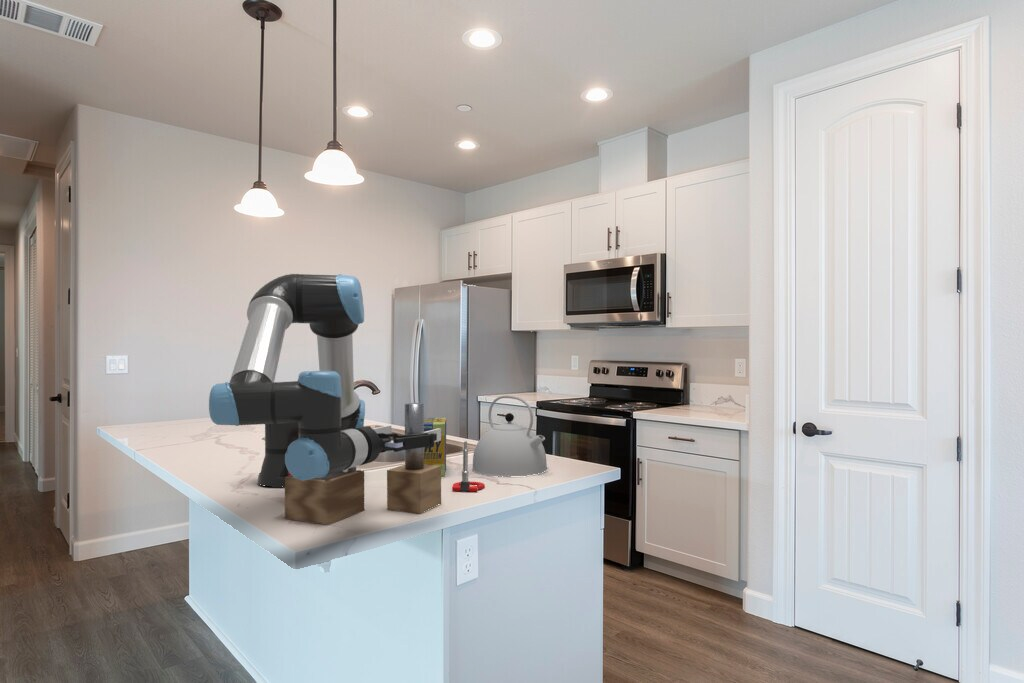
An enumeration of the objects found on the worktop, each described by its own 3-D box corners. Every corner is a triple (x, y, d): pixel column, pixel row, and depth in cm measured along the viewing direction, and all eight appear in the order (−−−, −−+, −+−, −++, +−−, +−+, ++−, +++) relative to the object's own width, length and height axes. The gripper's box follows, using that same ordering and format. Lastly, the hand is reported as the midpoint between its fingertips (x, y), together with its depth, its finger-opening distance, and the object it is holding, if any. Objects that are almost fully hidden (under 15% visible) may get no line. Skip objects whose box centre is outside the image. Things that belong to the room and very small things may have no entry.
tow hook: (457, 485, 160) (448, 491, 151) (457, 437, 161) (449, 441, 152) (487, 486, 159) (480, 493, 150) (487, 438, 160) (481, 442, 151)
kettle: (568, 469, 178) (567, 395, 178) (518, 482, 161) (518, 400, 161) (507, 459, 195) (507, 391, 195) (456, 470, 178) (456, 395, 178)
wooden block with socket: (284, 518, 128) (284, 470, 128) (323, 504, 139) (323, 460, 139) (328, 524, 123) (328, 474, 123) (364, 510, 134) (364, 464, 134)
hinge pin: (401, 469, 136) (400, 404, 136) (411, 465, 140) (411, 402, 140) (417, 470, 134) (416, 405, 134) (427, 467, 138) (427, 403, 138)
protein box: (408, 479, 166) (408, 424, 166) (412, 467, 182) (412, 417, 182) (445, 478, 167) (445, 423, 167) (446, 467, 182) (446, 417, 183)
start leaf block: (387, 509, 135) (387, 470, 135) (409, 500, 143) (409, 463, 143) (420, 513, 131) (420, 473, 131) (441, 503, 139) (441, 465, 139)
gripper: (306, 461, 122) (370, 445, 142) (407, 471, 112) (461, 452, 131) (306, 425, 122) (370, 414, 142) (407, 432, 112) (461, 419, 131)
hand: (414, 432), depth 137 cm, fingers open, 13 cm apart
